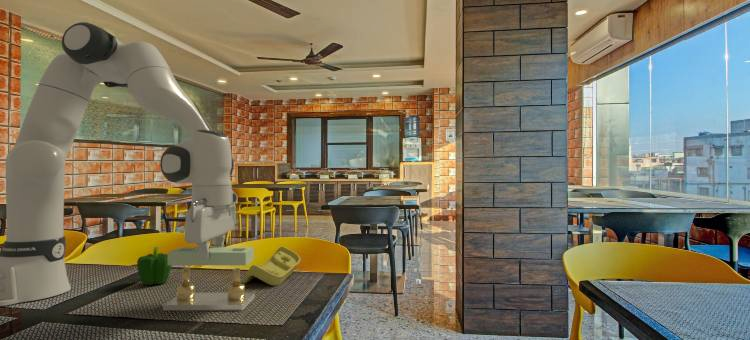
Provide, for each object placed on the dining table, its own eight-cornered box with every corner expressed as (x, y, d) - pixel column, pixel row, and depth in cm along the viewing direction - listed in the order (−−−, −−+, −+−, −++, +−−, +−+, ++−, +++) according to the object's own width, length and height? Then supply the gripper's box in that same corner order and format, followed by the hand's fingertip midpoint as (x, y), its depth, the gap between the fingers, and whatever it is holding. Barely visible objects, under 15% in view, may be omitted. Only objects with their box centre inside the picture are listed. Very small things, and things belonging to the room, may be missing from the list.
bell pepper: (161, 287, 104) (161, 250, 104) (131, 287, 105) (131, 250, 105) (177, 279, 113) (177, 245, 113) (149, 279, 113) (150, 245, 113)
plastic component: (280, 279, 105) (248, 262, 106) (269, 302, 106) (238, 285, 107) (305, 257, 124) (278, 243, 126) (296, 277, 125) (269, 263, 127)
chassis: (162, 310, 87) (162, 273, 87) (182, 297, 96) (182, 264, 96) (242, 310, 87) (242, 274, 87) (254, 297, 96) (254, 264, 96)
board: (253, 259, 95) (253, 247, 95) (245, 265, 89) (245, 252, 89) (180, 259, 95) (180, 247, 95) (167, 265, 89) (167, 252, 89)
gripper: (206, 200, 82) (206, 266, 82) (239, 195, 102) (239, 247, 102) (176, 200, 82) (176, 266, 82) (216, 195, 102) (216, 247, 102)
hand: (212, 255), depth 92 cm, fingers closed on board, 6 cm apart
